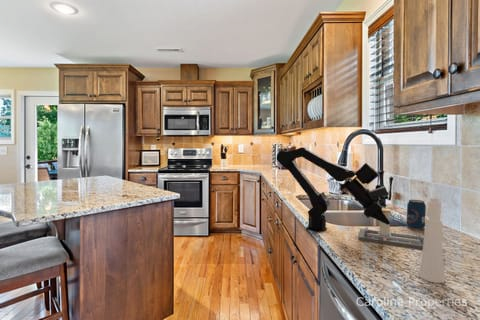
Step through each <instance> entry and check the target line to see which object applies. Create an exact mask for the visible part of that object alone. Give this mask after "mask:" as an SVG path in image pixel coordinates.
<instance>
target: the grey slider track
mask: <svg viewBox="0 0 480 320" xmlns="http://www.w3.org/2000/svg"><path fill="white" fill-rule="evenodd" d="M378 232H380V230H378V229H377V230H376V229H375V230H374V229H370V228H368V227H364V228H359V231H358V241H363V242H370V243H377V244H383V245H391V246H395V247H396V246H397V247H403V248H412V249H419V250H423V242H424V235H423V234H422V233H421V234H420V233H419V234H418V235H415V234H407V233H406V234H405V233H401V232H400V233H399V232H391V231H390V233H391V236H385V235H378Z"/></svg>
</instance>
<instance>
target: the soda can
mask: <svg viewBox="0 0 480 320" xmlns="http://www.w3.org/2000/svg"><path fill="white" fill-rule="evenodd" d="M406 207H407V208H406V225H407V227H408V228H410V229H414V230H423V229H425V222H426V210H427V209H426V208H427V207H426V203H425V201H424V200H420V199H409V200H408V202H407V203H406Z"/></svg>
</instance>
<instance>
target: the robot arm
mask: <svg viewBox="0 0 480 320" xmlns="http://www.w3.org/2000/svg"><path fill="white" fill-rule="evenodd" d="M299 158H303V159H305V160H307V161H308V162H310V163H312V164H314V165H315V166H317V167H318V168H320V169H323V170H324V171H325V172H326V173H327V174H328V175H329V176H330V177H331V178H332V179H334V180H335V181H336V182H339V187H340V188H339V191H340V192H342V191H343V190H344V189H345V190H346V191H347V192H348V193H349V194H350V195H351V196H352V198H354V200H355V201H356V202H358V203H359V204H360V205H361V207H362V209H363V216H365V217H366V218H368V219H369V218H373V219H374V220H377V221H378V222H380V221H381V222H383V223H385V224H387V225H389V224H390V225H391V221H390V222H389V220H388V219H387V217H386V216H385V215H384V213H383V212H382V208H383V205H382V204H383V203H382V201H381V198H383V197H387V196H389V195H390V194H389V192H388V189H387V188H386V186H385V185H383V186H382V185H381V184H377V185H375V188H374V189H372V190H370V189H369V188H366V187H365V186H364V185H365V184H367V185H369V184H371V183H372V182H373V181H374V180H376V179H377V178H378V177H379V176H380V174H379V172H377V171H376V170H375V168H374V167H372V166H370V165H369V164H368V163H367V162H366V163H365V162H364V164H363V165H362V166H361V167H360V168H358V170H356V171H355V170H349V168H347V167H346V166H342V165H339V164H336V163H333V162H330V161H328V160H327V159H325V158H324V157H322V156H320V155H318V154H316V153H315V152H312V151H311V150H310V149H308V148H307V147H299V148H296V149H292V150H280V151H279V152H278V153H277V154H276V161H277V162H278V163H279V164H280V166H282V167H283V168H284V169H286V171H287V170H288V171H289V173H291V175H292V177H293V178H294V179H295V181H296V182H297V183H298V185H299V186H300V187H301V189H302V190H303V191H304V193H305V194H306V196H307V197H308V199H309V202H310V205H311V207H312V208H310V209H309V210H308V211H307V213H308V226H306V227H305V228H306V229H307V230H311V231H314V232H317V233H320V232H323V231H326V230H328V228H327V227H326V223H327V219H326V215H325V213H326V212H327V211H328V210H329V209H330V207H331V203H330V198H329V197H327V195H326V193H325V192H324V191H322V192H319V191H318V190H317V189H316V188H315V186H314V185H313V184H312V182H311V181H310V180H309V179H308V177H307V176H306V175H305V174H304V172H303V171H302V170H301V168H300V167H299V166H298V163H297V160H296V159H299ZM340 182H341V183H340ZM342 182H344V183H342Z"/></svg>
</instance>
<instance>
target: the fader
mask: <svg viewBox="0 0 480 320" xmlns="http://www.w3.org/2000/svg"><path fill="white" fill-rule="evenodd" d="M382 212H383V213H384V215H385V216H386V217H387V219H388V220H389V222H390V224H389V225H387V224H385V223H383V222H381V221H379V222H380V223H379V231H380V232H378V235H385V236H391V233H390V232H391V230H390V229H391V228H390V227H391V213H392V211H391V209H390V208H383V207H382Z"/></svg>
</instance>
